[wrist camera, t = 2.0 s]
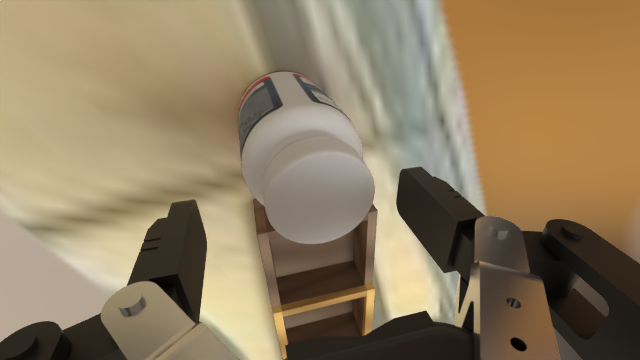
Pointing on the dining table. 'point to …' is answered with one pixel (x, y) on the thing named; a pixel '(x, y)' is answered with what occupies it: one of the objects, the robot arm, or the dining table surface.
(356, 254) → the rack
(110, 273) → the dining table surface
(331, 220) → the pill bottle
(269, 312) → the dining table surface
